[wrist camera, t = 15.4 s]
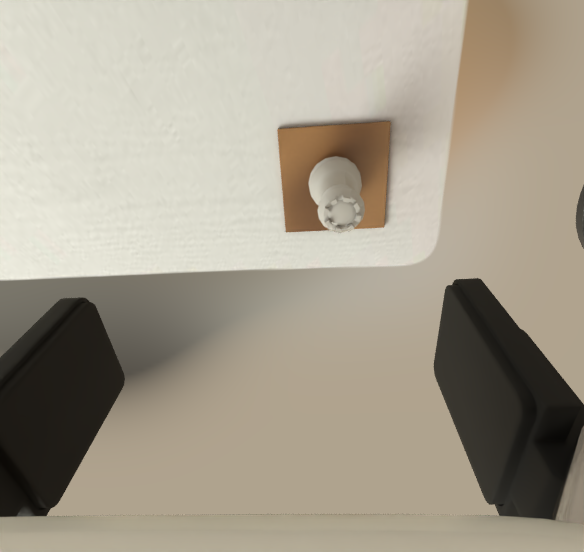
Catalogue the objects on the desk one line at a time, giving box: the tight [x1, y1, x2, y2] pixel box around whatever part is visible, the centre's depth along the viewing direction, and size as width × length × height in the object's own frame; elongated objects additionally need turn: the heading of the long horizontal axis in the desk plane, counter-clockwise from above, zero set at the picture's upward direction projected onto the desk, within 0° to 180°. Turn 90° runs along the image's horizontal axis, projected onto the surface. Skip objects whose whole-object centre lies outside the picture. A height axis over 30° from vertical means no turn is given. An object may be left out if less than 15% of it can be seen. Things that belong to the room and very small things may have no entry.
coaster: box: [278, 121, 391, 232], centre depth 32 cm, size 9×9×1 cm
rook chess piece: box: [308, 156, 365, 233], centre depth 28 cm, size 4×4×8 cm
